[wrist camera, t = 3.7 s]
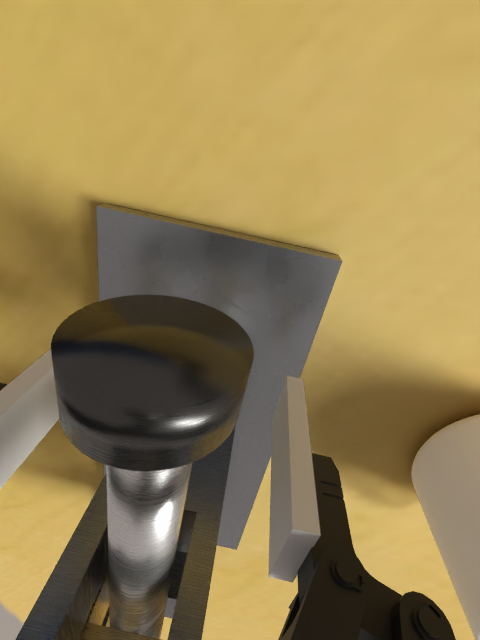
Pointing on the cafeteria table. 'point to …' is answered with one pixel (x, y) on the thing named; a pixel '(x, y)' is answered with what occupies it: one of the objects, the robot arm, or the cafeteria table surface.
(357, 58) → the cafeteria table surface
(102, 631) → the spacer
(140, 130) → the cafeteria table surface
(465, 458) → the mug
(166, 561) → the shaft
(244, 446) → the bearing block
